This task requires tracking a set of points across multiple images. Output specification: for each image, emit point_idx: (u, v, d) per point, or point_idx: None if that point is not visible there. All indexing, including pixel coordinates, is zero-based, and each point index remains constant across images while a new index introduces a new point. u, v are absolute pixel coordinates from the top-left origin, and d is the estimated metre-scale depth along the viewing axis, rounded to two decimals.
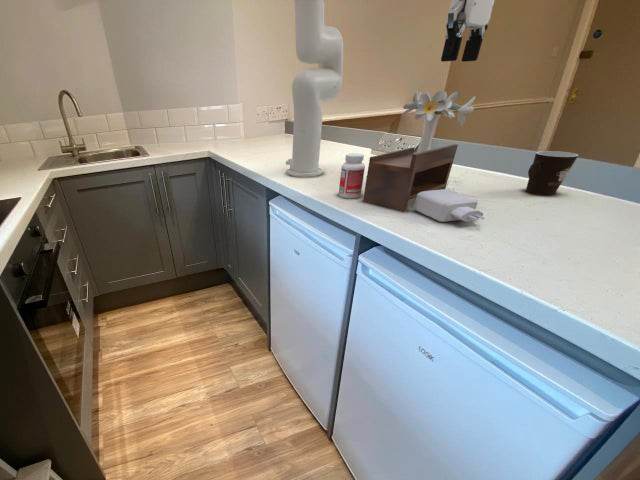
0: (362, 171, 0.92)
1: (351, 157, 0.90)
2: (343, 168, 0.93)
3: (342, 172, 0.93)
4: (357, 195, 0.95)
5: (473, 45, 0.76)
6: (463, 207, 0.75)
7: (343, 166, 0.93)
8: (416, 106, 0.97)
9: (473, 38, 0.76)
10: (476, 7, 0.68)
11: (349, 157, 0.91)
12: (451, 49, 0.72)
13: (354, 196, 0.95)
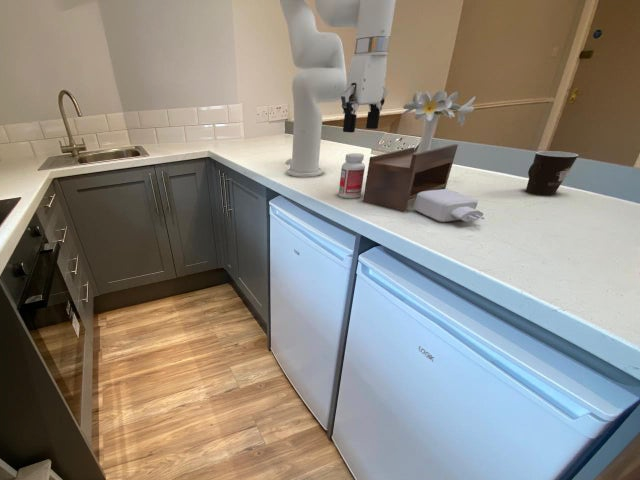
0: (362, 171, 0.92)
1: (351, 157, 0.90)
2: (343, 168, 0.93)
3: (342, 172, 0.93)
4: (357, 195, 0.95)
5: (373, 116, 0.89)
6: (463, 207, 0.75)
7: (343, 166, 0.93)
8: (416, 106, 0.97)
9: (372, 110, 0.88)
10: (365, 91, 0.80)
11: (349, 157, 0.91)
12: (348, 123, 0.84)
13: (354, 196, 0.95)
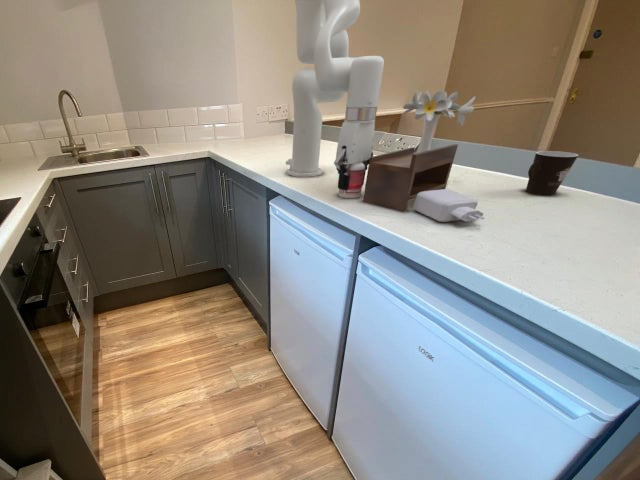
0: (362, 171, 0.92)
1: None
2: None
3: None
4: (357, 195, 0.95)
5: None
6: (463, 207, 0.75)
7: None
8: (416, 106, 0.97)
9: None
10: (355, 153, 0.88)
11: None
12: (342, 182, 0.93)
13: (354, 196, 0.95)
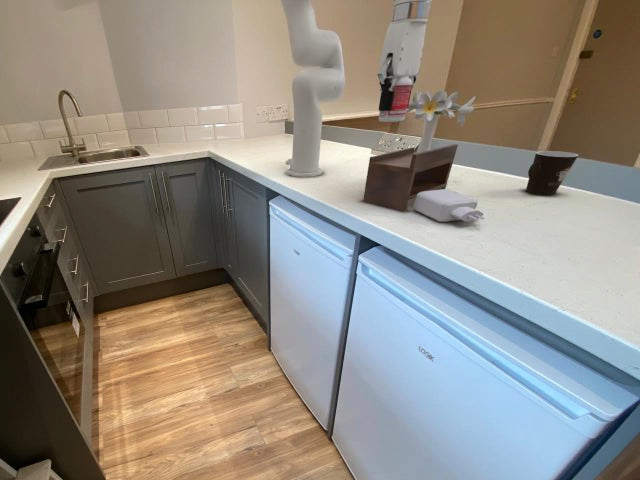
0: (409, 87, 0.79)
1: None
2: None
3: None
4: (401, 118, 0.82)
5: None
6: (463, 207, 0.75)
7: None
8: (416, 106, 0.97)
9: None
10: (402, 62, 0.75)
11: None
12: (385, 101, 0.80)
13: (398, 119, 0.82)
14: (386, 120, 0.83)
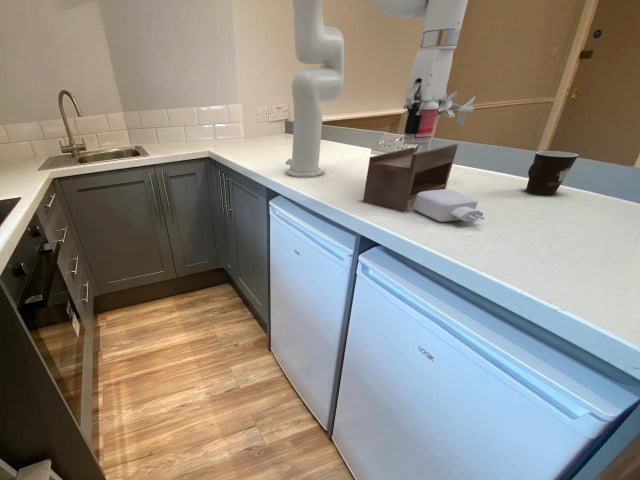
0: (436, 111, 0.80)
1: None
2: None
3: None
4: (427, 141, 0.83)
5: None
6: (463, 207, 0.75)
7: None
8: None
9: None
10: (431, 87, 0.76)
11: None
12: (412, 125, 0.81)
13: (424, 142, 0.83)
14: (412, 143, 0.84)
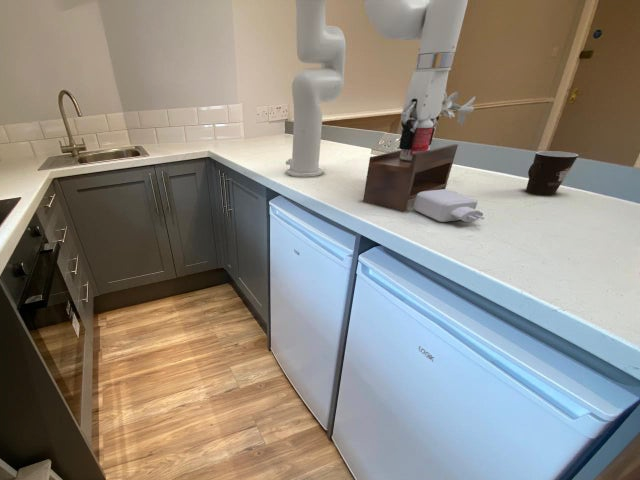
0: (431, 129, 0.82)
1: None
2: None
3: None
4: None
5: None
6: (463, 207, 0.75)
7: None
8: None
9: None
10: (426, 107, 0.78)
11: None
12: (406, 141, 0.82)
13: None
14: (408, 159, 0.86)
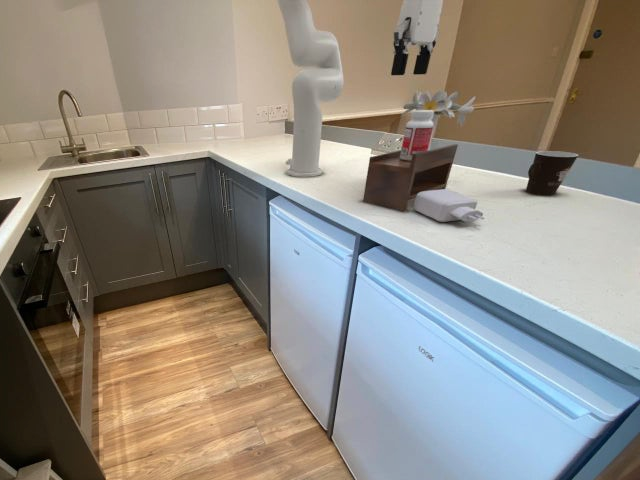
0: (431, 129, 0.82)
1: (420, 113, 0.81)
2: (409, 126, 0.83)
3: (407, 131, 0.84)
4: None
5: (422, 60, 0.82)
6: (463, 207, 0.75)
7: (409, 124, 0.83)
8: (416, 106, 0.97)
9: (422, 53, 0.82)
10: (420, 27, 0.74)
11: (417, 113, 0.81)
12: (399, 64, 0.77)
13: None
14: (408, 159, 0.86)
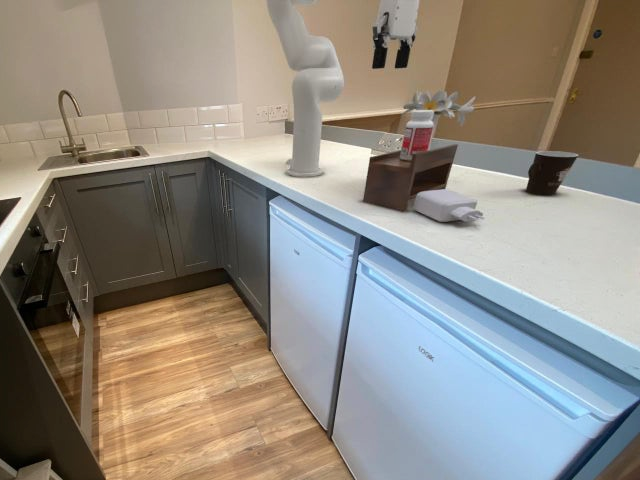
0: (431, 129, 0.82)
1: (420, 113, 0.81)
2: (409, 126, 0.83)
3: (407, 131, 0.84)
4: None
5: (403, 54, 0.85)
6: (463, 207, 0.75)
7: (409, 124, 0.83)
8: (416, 106, 0.97)
9: (402, 47, 0.85)
10: (398, 21, 0.77)
11: (417, 113, 0.81)
12: (379, 58, 0.80)
13: None
14: (408, 159, 0.86)
